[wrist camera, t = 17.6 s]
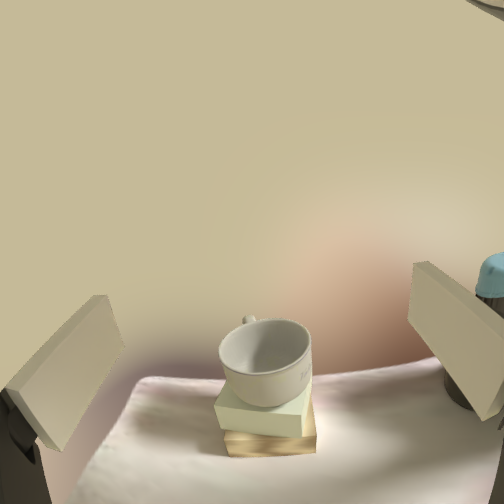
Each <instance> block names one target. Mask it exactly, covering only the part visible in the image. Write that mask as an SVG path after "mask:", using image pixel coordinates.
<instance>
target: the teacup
mask: <svg viewBox="0 0 504 504" xmlns="http://www.w3.org/2000/svg"><path fill="white" fill-rule="evenodd" d="M218 356H219V359H220V361H221V363H222V365H223V368H224V371H225V374H226V377H227V380H228V382H229V385H230V387H231V388H232V390H233V392H234V393H235V394H236V395H237V396H238V397H239V398H240V399H241V400H243V401H244V402H246V403H249V404H251V405H255V406H260V407H273V406H279V405H282V404H285V403H288V402H290V401H292V400H293V399H295V398H296V397H298V396H299V395H300V394H301V393H302V392H303V391H304V390H305V388H306V387H307V385H308V383H309V381H310V377H311V371H312V359H311V358H312V357H311V335H310V333H309V331H308V330H307V329H306V328H305V327H304V326H302V325H301V324H300V323H298V322H295V321H292V320H288V319H282V318H268V319H262V320H257V321H256V320H255V317H254V316H253V315H248V316H245V317H244V318H243V325H242V326H240V327H237V328H236V329H234V330H232V331H231V332H229V334H227V335H226V336H225V337H224V338H223V340H222V341H221V343H220V345H219V349H218Z"/></svg>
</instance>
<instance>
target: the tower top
mask: <svg viewBox="0 0 504 504" xmlns="http://www.w3.org/2000/svg"><path fill="white" fill-rule="evenodd" d="M311 387H312V371H311V377H310V381H309V383H308V385H307V387H306V388H305V390H304V391H303V392H302V393H301V394H300V395H299V396H298V397H296V398H295V399H293V400H292V401H290V402H288V403H285V404H282V405H279V406H273V407H260V406H255V405H251V404H249V403H246V402H244V401H243V400H241V399H240V398H239V397H238V396H237V395H236V394H235V393H234V392H233V390H232V388H231V387H230V385H229V382H228V380H226V382H225V384H224V386H223V388H222V390H221V392H220V394H219V396H218V398H217V400H216V401H215V403H214V405H213V406H214V409H215V412H216V415H217V419H218V422H219V425H220V428H221V429H225V430H231V431H237V432H244V433H251V434H258V435H267V436H276V437H287V438H300V439H302V435H303V430H304V425H305V420H306V415H307V409H308V404H309V398H310V393H311Z"/></svg>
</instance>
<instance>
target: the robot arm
mask: <svg viewBox="0 0 504 504" xmlns="http://www.w3.org/2000/svg"><path fill="white" fill-rule="evenodd" d="M467 1H468V2H469V3H471V4H473V5H475V6H476V7H478V8H480V9H481V10H483V11H485V12H487V13H489V14H491V15H493V16H495V17H497V18H499V19H501V20H503V21H504V0H467ZM475 291H476V295H473V294H472V293H471V292H469V291H468V290H467V289H466V288H464V287H463V286H462V285H460V284H459V283H457V282H456V281H455V280H454V279H452V278H451V277H449V276H448V275H446V274H445V273H444V272H442V271H441V270H440V269H438V268H437V267H436V266H434V265H433V264H431V263H430V262H429V261H426V262H418V263H413V275H412V286H411V296H410V306H409V313H408V321H409V322H410V324H411V325H412V326H413V327H414V329H415V330H416V331H417V332H418V334H419V335H420V336H421V338H422V339H423V340H424V341H425V343H426V344H427V345H428V346H429V348H430V349H431V350H432V352H433V353H434V354H435V356H436V357H437V358H438V360H439V361H440V362H441V364H442V365H443V366H444V368H445V369H446V370H447V371H446V374H445V387H446V389H447V392H448V393H449V395H450V396H451V397H452V399H453V400H454V401H456V402H457V403H458V404H460V405H461V406H463V407H465V408H467V409H470V410H473V411H475V412H476V413H477V415H478V416H479V418H480V419H481V421H482V422H483V421H485V420H487V419H489V418H491V417H493V416H495V415H497V414H498V413H499V412H500V410H501V408H502V407H503V406H504V252H502V253H498V254H494V255H492V256H490V257H488V258H487V259H486V260H485V261H484V262H483V264H482V266H481V269H480V274H479V278H478V283H477V285H476V287H475ZM124 347H125V346H124V344H123V341H122V338H121V335H120V332H119V329H118V327H117V324H116V321H115V318H114V315H113V312H112V309H111V306H110V303H109V299H108V296H107V295H95V296H93V297H91V298H90V299H89V300H88V301H87V302H86V303H85V304H84V305H83V306H82V307H81V308H80V309H79V310H78V311H77V312H76V313H75V314H74V315H73V316H72V317H71V318H70V319H69V320H68V321H67V322H66V323H64V324H63V325H62V327H60V328H59V329H58V330H57V332H55V333H54V335H53V336H52V337H51V338H50V339H49V340H48V341H47V342H46V343H45V344H44V345H43V346H42V347H41V348H40V349H39V350H38V351H37V352H36V353H35V354H34V355H33V357H32V358H31V359H29V361H28V362H27V363H26V364H25V365H24V366H23V367H22V368H21V369H20V370H19V372H18V373H17V374H16V375H15V376H14V377H13V378H12V379H11V380H10V381H9V383H8V384H7V385H6V386H5V387H4V389H3V390H2V391H1V392H0V504H52V502H51V498H50V495H49V491H48V487H47V483H46V479H45V476H44V471H43V466H42V462H41V456H40V451H39V448H38V445H37V444H36V443H35V440H36V438H37V436H38V437H39V438H40V439H41V441H42V442H43V443H44V444H45V446H46V447H48V448H51V449H54V450H57V451H60V452H63V450H64V448H65V446H66V444H67V443H68V441H69V439H70V437H71V435H72V434H73V432H74V430H75V428H76V427H77V425H78V423H79V421H80V420H81V418H82V416H83V414H84V413H85V411H86V409H87V407H88V406H89V404H90V403H91V401H92V399H93V397H94V396H95V394H96V393H97V391H98V389H99V388H100V386H101V384H102V383H103V381H104V379H105V378H106V376H107V374H108V373H109V371H110V370H111V368H112V366H113V365H114V363H115V362H116V360H117V359H118V357H119V355H120V354H121V352H122V351H123V349H124ZM503 425H504V418H503V420H502V421H501V423H500V425H499V427H498V430H501V428H502V427H503ZM488 504H504V439H503V445H502V451H501V456H500V461H499V466H498V470H497V474H496V478H495V482H494V486H493V490H492V493H491V496H490V500H489V503H488Z"/></svg>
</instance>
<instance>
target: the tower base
mask: <svg viewBox="0 0 504 504" xmlns="http://www.w3.org/2000/svg"><path fill="white" fill-rule="evenodd" d="M316 439H317V434H316V427H315V419H314V412H313V405H312V398H311V393H310V398H309V404H308V409H307V415H306V420H305V425H304V430H303V435H302V439H300V438H287V437H276V436H267V435H258V434H251V433H244V432H237V431H231V430H225V436H224V442H225V445H226V448H227V451H228V454H229V457H270V456H288V455H300V454H310V453H316Z"/></svg>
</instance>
